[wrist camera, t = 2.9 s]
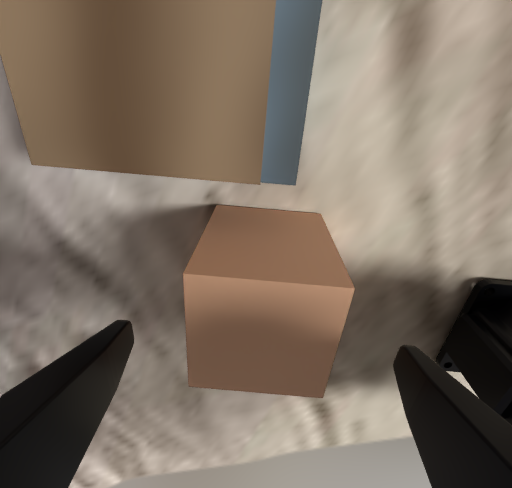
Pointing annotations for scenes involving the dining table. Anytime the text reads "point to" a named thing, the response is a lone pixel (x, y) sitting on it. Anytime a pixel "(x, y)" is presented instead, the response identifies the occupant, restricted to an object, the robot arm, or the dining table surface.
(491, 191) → the dining table surface
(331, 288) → the terracotta cube
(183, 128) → the foundation block
